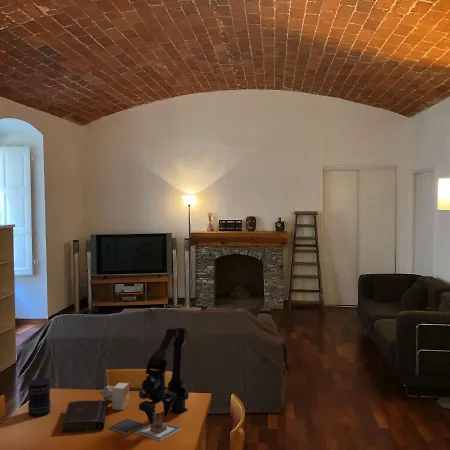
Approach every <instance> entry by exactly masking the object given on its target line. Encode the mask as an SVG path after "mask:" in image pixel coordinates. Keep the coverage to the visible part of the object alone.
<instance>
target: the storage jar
mask: <svg viewBox="0 0 450 450" xmlns="http://www.w3.org/2000/svg"><path fill="white" fill-rule="evenodd" d="M27 385H28V386H27V393H28V394H27V395H28V403H27V407H28V408H27V410H28V416H29V417H31V418H41V417H46V416H47V415H50V413H51V406H52V405H51V400H50V399H51V395H50V393H51V380H50V378H46V377H45V378H43V377H42V378H40V377H39V378H34V379H31V380H29V381H28V382H27Z"/></svg>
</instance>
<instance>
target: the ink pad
mask: <svg viewBox="0 0 450 450" xmlns="http://www.w3.org/2000/svg"><path fill="white" fill-rule="evenodd" d="M144 427H146V424H145V423H143V422H139V421H136V420H133V419H130V418H125V419H122V420H120V421H118V422H116V423H115V424H112V425H110V426H109V427H108V429H109V430H112V431H115V432H118V433H120V434H124V435H129V434H131V433H133V432H136V431H138V430H140V429H142V428H144Z"/></svg>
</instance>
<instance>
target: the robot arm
mask: <svg viewBox="0 0 450 450" xmlns="http://www.w3.org/2000/svg"><path fill="white" fill-rule="evenodd" d="M188 338H189V330H188V329H187V327H181V326H173V327H172V328H171V327H169V328H167V329H166V332H165V335H164V336H163V339H162V341H161V343H160V345H159V347H158V350H156V351H154V352H153V353H152V354H151V356H150V357H149V359H148V363H147V366H146V369H145V374H146V377H145V379H144V380H143V381H142V384H141V388H142V390H140V391H138V392H139V393H138V396H139V399H142V400H144V401H142V402H140V403H139V404H138V410H139V411H141V412H144V413H145V414H146V417H147V420H148V422H149V424H151V425H152V424H153V422H155V414H156V405H159V404H160V403H162V404H163V415H164V416H163V417H164V418H167V417H168V415H169V413H170V412H171V413H175V414H177V415H180V414H183V413H185V412H186V411H188V410H189V409H188V407H187V408H186V400H189V395H190V394H189V393H190V392H189V390H188V389H187V386H186V385H187V384H186V381H185V379H184V378H183V377H184V376H183V373H184V372H183V370H184V349H185V348H184V347H185V345H186V343H187V342H188ZM172 347H173V350H172V351H173V353H172V354H173V355H172V376H171V379H170V381H168V384H167V386H166V372H167V369H168V365H169V358H168V357H169V354H170V352H171V349H172ZM146 399H148V400H146Z"/></svg>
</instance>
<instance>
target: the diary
mask: <svg viewBox="0 0 450 450" xmlns="http://www.w3.org/2000/svg"><path fill="white" fill-rule="evenodd" d="M107 409H108V401H106V400H104V399H102V400H74V401H68V404H67V407H66V410H65V413H64V416H63V418H62V421H61V424H63V428H62V431H61V434H65V433H66V434H68V433H80V432H81V433H82V432H86V431H96V430H97V431H99V430H100V429H101V428H102V429H101V430H102V431H104V428H105V423H106V418H107V417H106V416H107Z"/></svg>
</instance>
